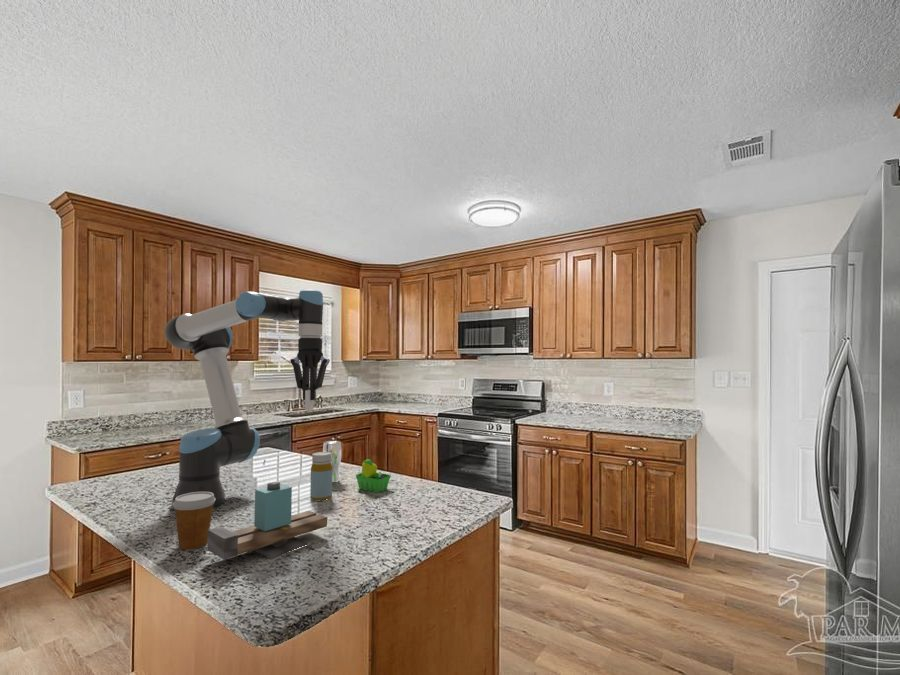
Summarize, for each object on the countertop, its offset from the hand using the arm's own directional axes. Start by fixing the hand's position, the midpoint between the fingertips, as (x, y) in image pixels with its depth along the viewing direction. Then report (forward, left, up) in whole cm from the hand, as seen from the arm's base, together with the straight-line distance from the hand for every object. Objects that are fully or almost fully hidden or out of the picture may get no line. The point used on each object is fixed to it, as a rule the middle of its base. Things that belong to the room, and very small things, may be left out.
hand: (309, 410), depth 151 cm
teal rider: (+7, -33, -27) cm, 43 cm away
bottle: (+1, +8, -31) cm, 32 cm away
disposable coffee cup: (-13, -35, -31) cm, 48 cm away
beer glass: (-5, +30, -31) cm, 43 cm away
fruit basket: (+14, +22, -31) cm, 40 cm away
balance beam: (+7, -33, -30) cm, 46 cm away
